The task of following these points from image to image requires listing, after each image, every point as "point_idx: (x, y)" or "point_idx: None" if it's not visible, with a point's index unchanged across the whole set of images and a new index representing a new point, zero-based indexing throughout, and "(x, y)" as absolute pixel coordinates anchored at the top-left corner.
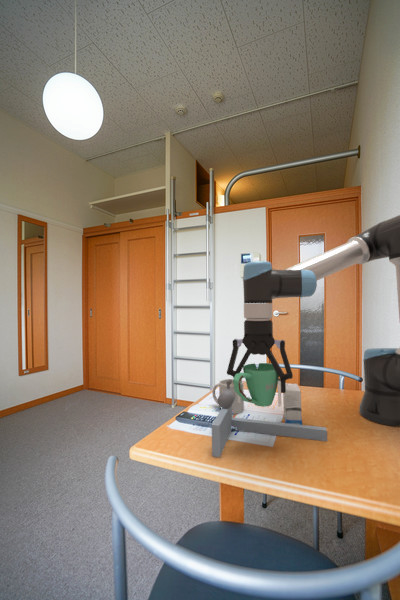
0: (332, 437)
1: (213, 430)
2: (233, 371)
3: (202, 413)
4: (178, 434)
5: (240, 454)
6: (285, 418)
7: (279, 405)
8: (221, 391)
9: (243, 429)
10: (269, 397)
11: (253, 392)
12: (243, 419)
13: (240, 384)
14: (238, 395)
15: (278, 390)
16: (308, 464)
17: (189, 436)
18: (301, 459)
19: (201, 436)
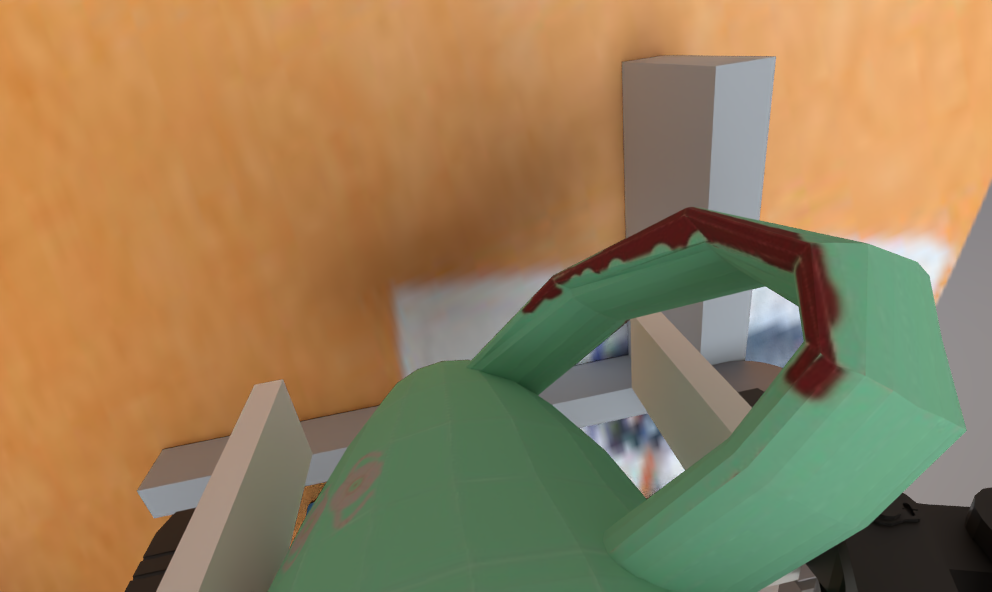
0: None
1: (737, 57)
2: (959, 583)
3: None
4: (881, 195)
5: (526, 143)
6: None
7: (268, 387)
8: (778, 585)
9: (571, 372)
10: (364, 427)
11: (534, 408)
12: (588, 417)
13: (723, 433)
14: (680, 343)
15: (226, 500)
16: (171, 203)
17: (822, 201)
18: (220, 235)
19: None
